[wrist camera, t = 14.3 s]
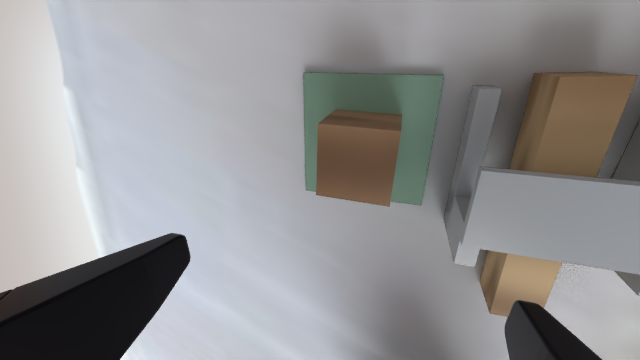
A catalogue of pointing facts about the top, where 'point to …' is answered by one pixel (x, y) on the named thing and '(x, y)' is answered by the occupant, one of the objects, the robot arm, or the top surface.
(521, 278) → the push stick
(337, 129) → the block
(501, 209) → the tunnel
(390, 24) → the top surface
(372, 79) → the coaster
